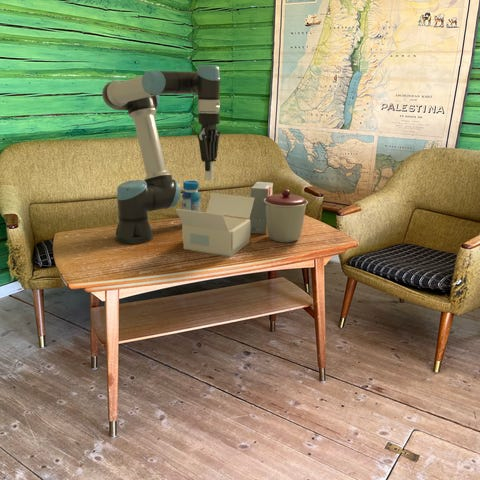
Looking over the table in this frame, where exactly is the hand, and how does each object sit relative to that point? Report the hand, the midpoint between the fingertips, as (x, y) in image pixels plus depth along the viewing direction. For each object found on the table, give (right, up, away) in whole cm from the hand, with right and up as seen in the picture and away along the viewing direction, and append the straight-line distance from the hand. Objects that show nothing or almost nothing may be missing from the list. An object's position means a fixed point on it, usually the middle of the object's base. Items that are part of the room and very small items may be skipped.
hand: (209, 179), depth 176 cm
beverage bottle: (-11, -16, +44) cm, 48 cm away
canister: (+30, -22, +27) cm, 46 cm away
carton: (+2, -24, +17) cm, 30 cm away
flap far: (+7, -8, +23) cm, 25 cm away
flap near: (-3, -14, +2) cm, 15 cm away
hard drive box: (+20, -17, +41) cm, 49 cm away
